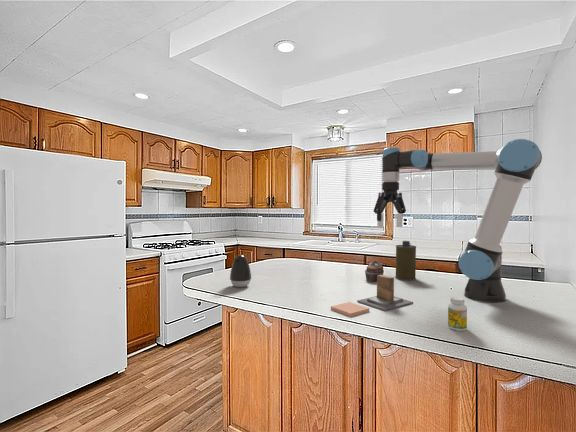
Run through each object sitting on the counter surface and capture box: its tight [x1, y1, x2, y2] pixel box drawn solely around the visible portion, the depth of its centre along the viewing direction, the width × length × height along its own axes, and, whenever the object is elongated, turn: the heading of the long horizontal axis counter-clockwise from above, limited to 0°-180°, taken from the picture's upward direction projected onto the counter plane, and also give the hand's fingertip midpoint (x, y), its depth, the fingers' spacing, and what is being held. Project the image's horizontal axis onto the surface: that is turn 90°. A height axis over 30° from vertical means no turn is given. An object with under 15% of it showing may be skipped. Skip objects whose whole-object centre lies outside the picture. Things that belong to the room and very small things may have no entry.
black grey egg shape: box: [229, 254, 252, 288], centre depth 159 cm, size 10×10×15 cm
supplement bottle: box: [447, 296, 468, 332], centre depth 106 cm, size 5×5×10 cm
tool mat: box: [357, 295, 414, 312], centre depth 133 cm, size 14×17×1 cm
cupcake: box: [364, 260, 385, 283], centre depth 172 cm, size 10×10×10 cm
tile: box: [330, 301, 370, 318], centre depth 123 cm, size 10×2×10 cm
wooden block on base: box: [367, 274, 404, 306], centre depth 133 cm, size 12×8×10 cm, turn 125°
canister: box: [394, 240, 417, 281], centre depth 177 cm, size 11×10×20 cm
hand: (390, 227), depth 154 cm, fingers open, 13 cm apart
